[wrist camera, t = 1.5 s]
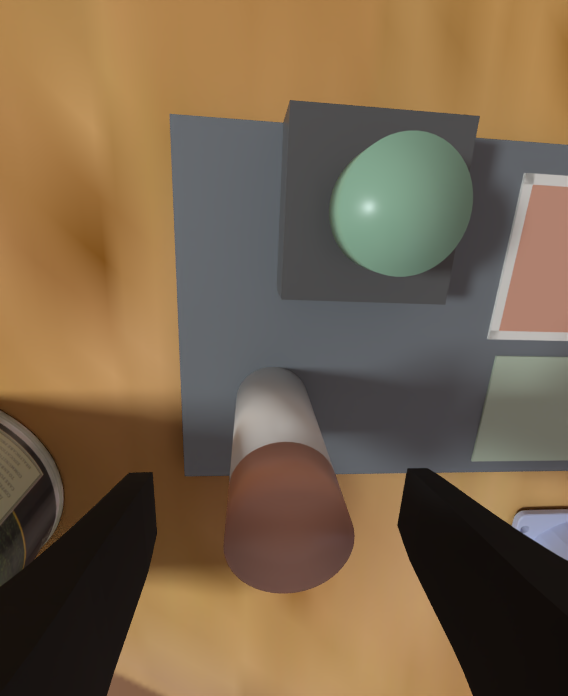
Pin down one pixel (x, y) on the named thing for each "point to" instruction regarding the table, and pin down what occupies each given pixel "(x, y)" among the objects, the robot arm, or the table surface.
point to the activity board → (376, 317)
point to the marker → (282, 490)
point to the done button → (402, 204)
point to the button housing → (316, 189)
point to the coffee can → (25, 497)
